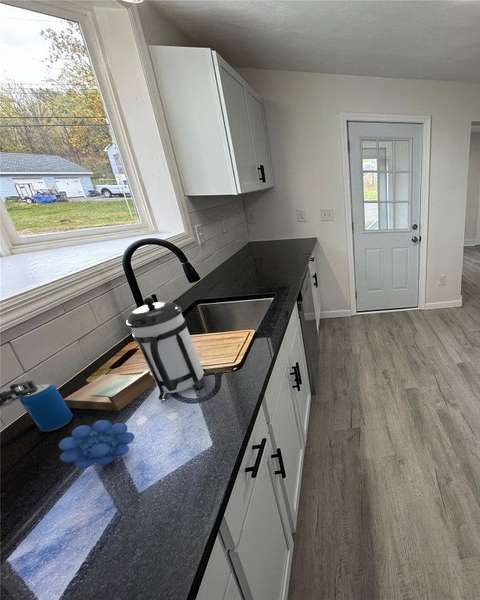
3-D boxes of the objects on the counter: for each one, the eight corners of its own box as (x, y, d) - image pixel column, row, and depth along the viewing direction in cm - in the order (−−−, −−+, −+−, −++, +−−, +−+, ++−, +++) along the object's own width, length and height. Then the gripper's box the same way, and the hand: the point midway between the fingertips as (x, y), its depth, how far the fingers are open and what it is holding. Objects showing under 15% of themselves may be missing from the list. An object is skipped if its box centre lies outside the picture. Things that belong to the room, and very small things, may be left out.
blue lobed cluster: (77, 492, 66) (48, 451, 61) (74, 474, 70) (47, 434, 65) (144, 456, 74) (122, 417, 69) (138, 441, 78) (117, 403, 73)
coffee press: (140, 398, 94) (95, 307, 82) (191, 367, 107) (158, 286, 95) (178, 411, 87) (134, 315, 75) (227, 377, 100) (196, 291, 88)
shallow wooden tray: (67, 407, 92) (59, 394, 90) (108, 381, 103) (101, 369, 101) (119, 411, 89) (111, 397, 87) (155, 383, 100) (149, 371, 98)
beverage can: (35, 431, 84) (10, 396, 79) (63, 414, 89) (42, 380, 85) (52, 435, 82) (27, 398, 77) (80, 417, 88) (58, 382, 83)
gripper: (-10, 375, 61) (36, 369, 75) (-121, 424, 54) (-48, 407, 68) (15, 407, 62) (55, 395, 76) (-91, 458, 55) (-25, 434, 69)
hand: (6, 400), depth 72 cm, fingers open, 8 cm apart
